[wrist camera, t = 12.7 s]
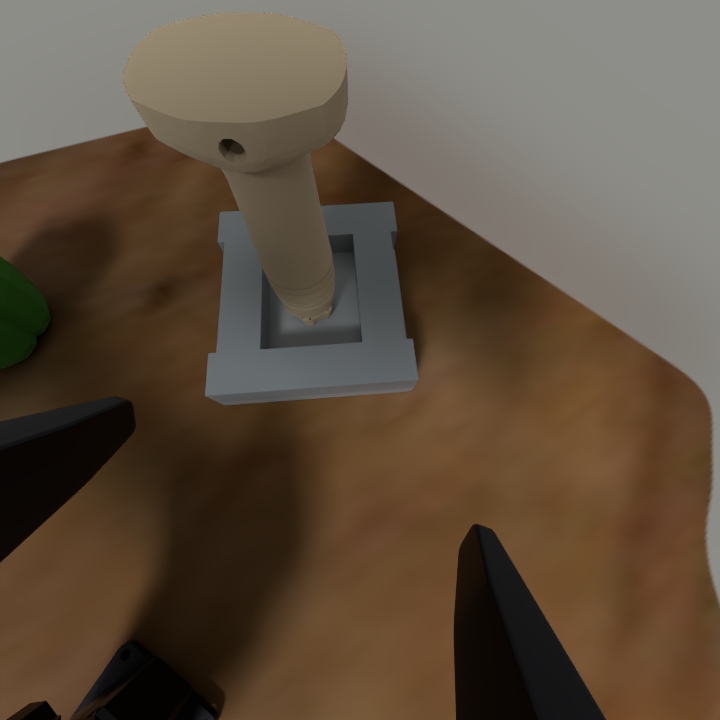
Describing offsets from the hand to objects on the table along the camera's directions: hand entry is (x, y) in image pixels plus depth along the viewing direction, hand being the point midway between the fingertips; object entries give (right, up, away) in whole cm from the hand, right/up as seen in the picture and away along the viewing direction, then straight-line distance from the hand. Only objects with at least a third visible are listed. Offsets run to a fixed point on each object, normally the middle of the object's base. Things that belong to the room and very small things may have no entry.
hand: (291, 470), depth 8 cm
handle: (-2, +6, +16) cm, 17 cm away
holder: (-2, +7, +17) cm, 18 cm away
